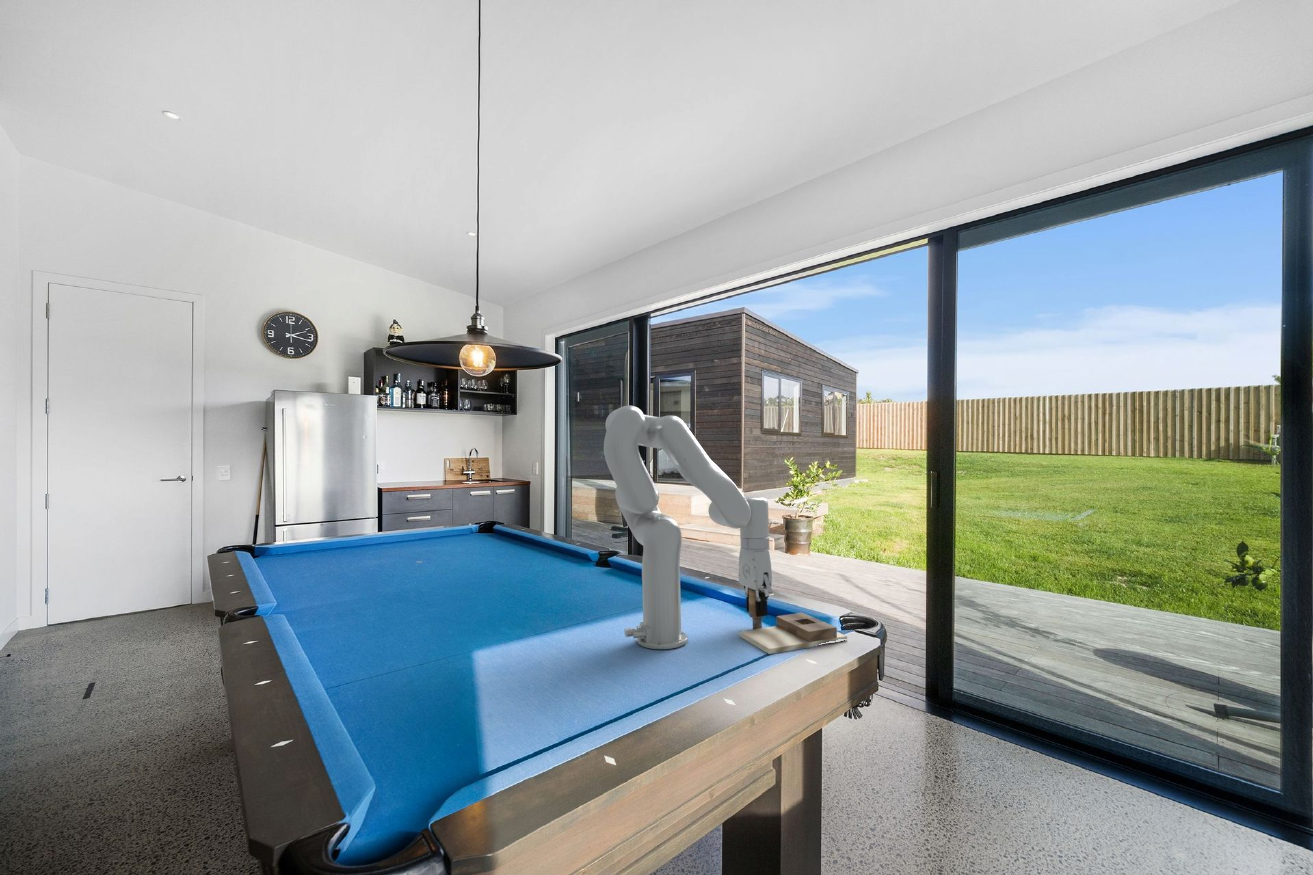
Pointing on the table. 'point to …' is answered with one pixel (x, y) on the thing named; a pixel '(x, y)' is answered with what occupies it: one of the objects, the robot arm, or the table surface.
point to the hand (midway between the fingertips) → (756, 612)
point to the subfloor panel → (792, 634)
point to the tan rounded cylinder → (754, 609)
